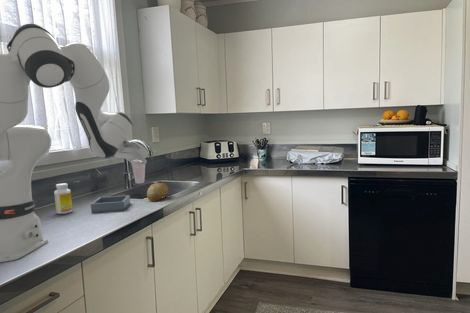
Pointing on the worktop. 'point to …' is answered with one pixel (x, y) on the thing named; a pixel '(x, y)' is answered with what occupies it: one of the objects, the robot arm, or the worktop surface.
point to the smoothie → (138, 171)
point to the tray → (110, 204)
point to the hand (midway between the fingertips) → (139, 162)
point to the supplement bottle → (63, 199)
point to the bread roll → (157, 191)
